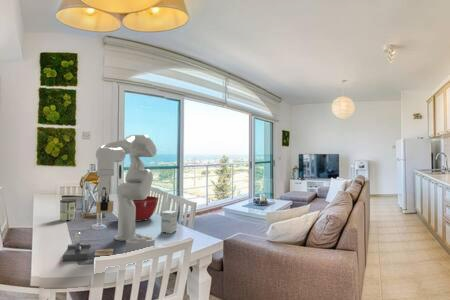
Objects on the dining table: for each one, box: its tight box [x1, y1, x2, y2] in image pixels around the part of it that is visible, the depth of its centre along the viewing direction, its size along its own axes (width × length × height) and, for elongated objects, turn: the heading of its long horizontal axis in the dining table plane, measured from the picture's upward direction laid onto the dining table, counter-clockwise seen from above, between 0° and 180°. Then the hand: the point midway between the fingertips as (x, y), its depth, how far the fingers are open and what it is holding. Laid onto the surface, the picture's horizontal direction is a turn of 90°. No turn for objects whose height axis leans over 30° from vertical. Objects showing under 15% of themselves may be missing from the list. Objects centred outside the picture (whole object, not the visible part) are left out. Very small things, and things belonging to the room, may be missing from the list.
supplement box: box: [160, 209, 178, 234], centre depth 185 cm, size 7×7×13 cm
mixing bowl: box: [132, 195, 159, 221], centre depth 217 cm, size 28×28×16 cm
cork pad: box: [93, 248, 114, 258], centre depth 144 cm, size 8×8×1 cm
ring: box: [95, 200, 114, 214], centre depth 144 cm, size 7×7×5 cm
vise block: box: [62, 232, 92, 263], centre depth 139 cm, size 12×10×11 cm
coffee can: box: [59, 198, 77, 222], centre depth 213 cm, size 10×10×14 cm
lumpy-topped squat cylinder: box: [125, 233, 156, 254], centre depth 144 cm, size 10×13×9 cm
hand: (104, 208), depth 144 cm, fingers closed on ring, 7 cm apart
